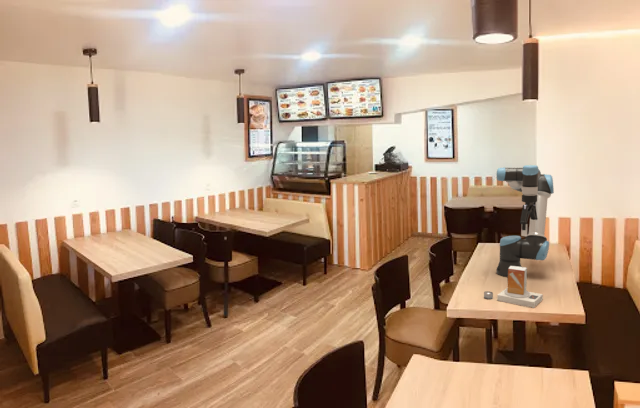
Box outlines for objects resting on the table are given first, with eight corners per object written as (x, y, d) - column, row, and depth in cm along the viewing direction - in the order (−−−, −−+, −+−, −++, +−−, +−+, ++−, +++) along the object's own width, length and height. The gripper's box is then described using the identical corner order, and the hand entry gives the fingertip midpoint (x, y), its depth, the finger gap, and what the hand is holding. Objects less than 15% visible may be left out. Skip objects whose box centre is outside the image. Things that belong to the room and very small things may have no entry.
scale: (497, 300, 236) (497, 293, 235) (506, 292, 246) (507, 285, 245) (533, 308, 224) (534, 300, 223) (542, 299, 234) (542, 292, 233)
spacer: (485, 296, 243) (485, 290, 242) (494, 297, 240) (494, 292, 239) (482, 298, 240) (482, 292, 239) (490, 300, 237) (491, 294, 236)
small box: (507, 292, 235) (507, 268, 233) (509, 289, 240) (510, 265, 238) (524, 295, 230) (524, 270, 228) (526, 291, 235) (527, 267, 234)
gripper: (529, 191, 253) (528, 229, 256) (514, 196, 234) (512, 237, 237) (544, 192, 248) (542, 230, 251) (529, 197, 229) (528, 238, 232)
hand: (528, 233), depth 244 cm, fingers open, 13 cm apart
